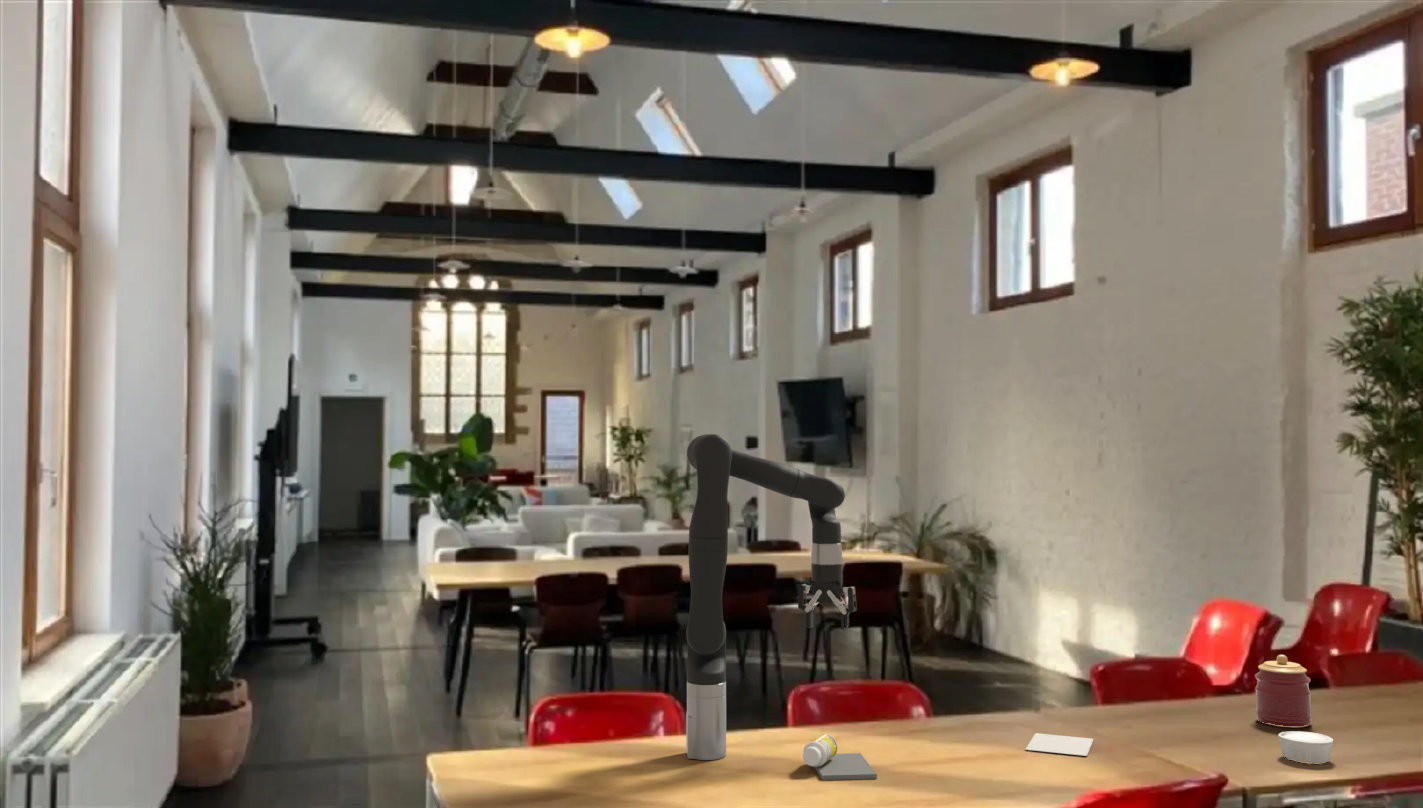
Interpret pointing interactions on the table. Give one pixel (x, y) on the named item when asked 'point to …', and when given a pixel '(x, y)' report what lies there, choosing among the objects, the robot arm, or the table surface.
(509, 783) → the table surface
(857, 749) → the table surface
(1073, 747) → the paper stack
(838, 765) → the mat
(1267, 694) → the canister
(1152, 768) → the table surface
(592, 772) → the table surface
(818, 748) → the supplement bottle
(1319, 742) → the ramekin
